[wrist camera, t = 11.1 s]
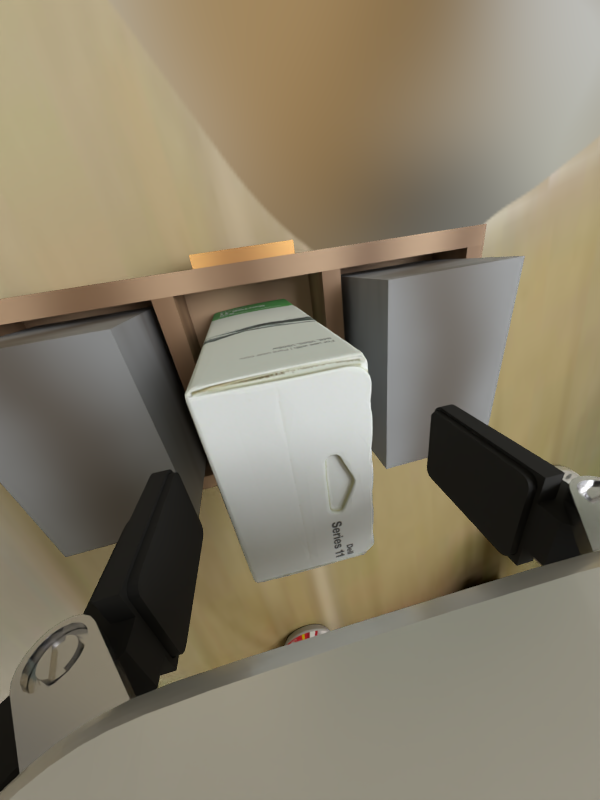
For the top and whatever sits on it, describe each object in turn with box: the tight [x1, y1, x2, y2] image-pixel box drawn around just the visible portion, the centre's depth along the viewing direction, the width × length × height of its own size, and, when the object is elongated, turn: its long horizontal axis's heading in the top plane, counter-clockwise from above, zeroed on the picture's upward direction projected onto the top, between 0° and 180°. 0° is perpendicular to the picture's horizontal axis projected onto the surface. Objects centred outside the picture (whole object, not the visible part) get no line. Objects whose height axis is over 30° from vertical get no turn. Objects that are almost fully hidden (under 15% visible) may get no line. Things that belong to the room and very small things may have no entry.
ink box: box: [185, 299, 374, 583], centre depth 14 cm, size 9×5×12 cm, turn 9°
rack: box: [0, 224, 525, 557], centre depth 16 cm, size 26×14×8 cm, turn 99°
